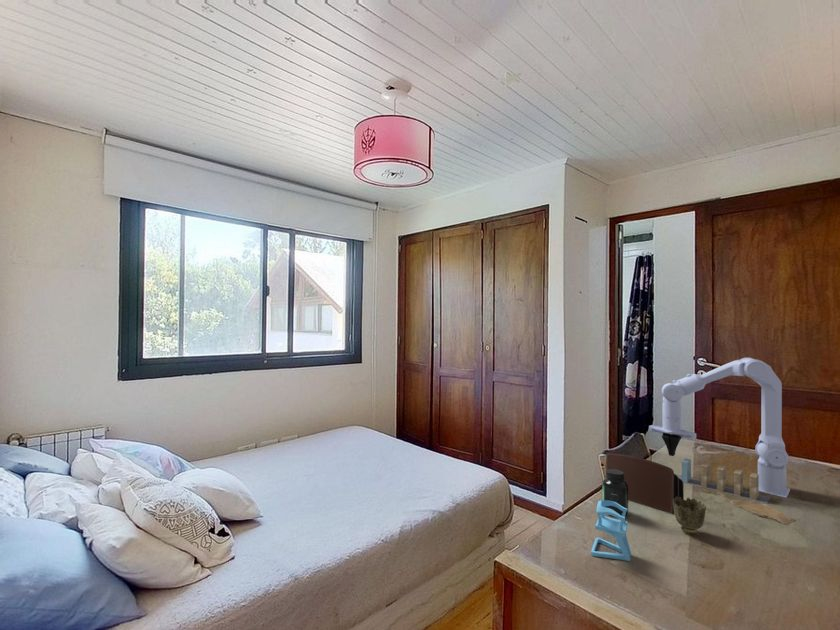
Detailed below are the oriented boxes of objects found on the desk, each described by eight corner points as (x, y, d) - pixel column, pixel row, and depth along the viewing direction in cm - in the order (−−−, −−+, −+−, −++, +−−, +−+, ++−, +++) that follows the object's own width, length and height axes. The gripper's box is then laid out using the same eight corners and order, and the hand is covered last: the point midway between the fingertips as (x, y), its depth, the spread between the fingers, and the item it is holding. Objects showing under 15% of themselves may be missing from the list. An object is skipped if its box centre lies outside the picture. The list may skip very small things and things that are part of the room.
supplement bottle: (599, 512, 120) (598, 471, 120) (607, 505, 125) (606, 465, 125) (624, 520, 115) (623, 477, 115) (631, 512, 120) (631, 471, 120)
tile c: (733, 494, 131) (733, 472, 131) (736, 490, 134) (736, 469, 134) (740, 496, 130) (739, 474, 130) (743, 492, 133) (742, 470, 133)
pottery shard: (779, 529, 111) (779, 523, 111) (725, 504, 126) (725, 498, 126) (802, 526, 113) (802, 519, 113) (745, 501, 128) (745, 496, 128)
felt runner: (677, 475, 149) (677, 474, 149) (770, 498, 129) (770, 497, 129) (671, 480, 144) (671, 479, 144) (767, 505, 125) (767, 503, 125)
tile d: (749, 498, 128) (749, 476, 128) (752, 494, 131) (752, 472, 132) (756, 500, 127) (755, 477, 127) (758, 496, 130) (758, 474, 130)
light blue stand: (629, 566, 94) (629, 514, 94) (590, 555, 98) (590, 505, 98) (632, 550, 100) (632, 501, 100) (595, 540, 105) (596, 493, 105)
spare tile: (681, 481, 142) (681, 461, 142) (685, 478, 145) (685, 458, 145) (687, 482, 141) (687, 462, 141) (691, 479, 144) (690, 459, 144)
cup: (701, 527, 111) (700, 498, 111) (710, 541, 104) (710, 510, 104) (669, 523, 114) (669, 494, 114) (676, 536, 107) (676, 506, 107)
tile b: (716, 490, 135) (716, 469, 135) (720, 486, 138) (720, 465, 138) (722, 491, 133) (722, 470, 133) (726, 487, 137) (725, 466, 137)
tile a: (700, 486, 138) (700, 465, 138) (704, 482, 141) (704, 462, 141) (706, 487, 137) (706, 466, 137) (709, 483, 140) (709, 463, 140)
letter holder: (673, 515, 119) (673, 466, 119) (605, 493, 133) (604, 450, 134) (684, 504, 125) (683, 458, 126) (617, 485, 140) (617, 444, 140)
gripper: (645, 415, 149) (645, 452, 149) (692, 422, 138) (692, 463, 138) (652, 412, 154) (652, 448, 154) (697, 419, 143) (698, 458, 143)
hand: (671, 455), depth 146 cm, fingers closed
